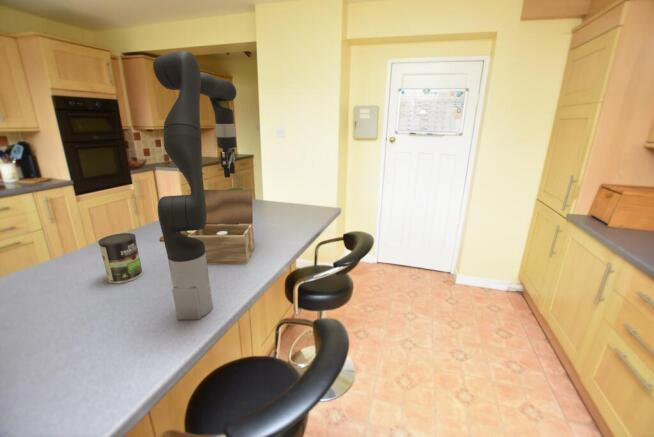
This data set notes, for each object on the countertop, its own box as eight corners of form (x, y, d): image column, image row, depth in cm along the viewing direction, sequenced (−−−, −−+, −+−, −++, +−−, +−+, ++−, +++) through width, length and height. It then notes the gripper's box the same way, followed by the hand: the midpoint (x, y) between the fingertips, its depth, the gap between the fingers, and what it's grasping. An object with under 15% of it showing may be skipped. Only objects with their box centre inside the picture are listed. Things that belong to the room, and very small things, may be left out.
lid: (251, 189, 122) (252, 189, 124) (199, 189, 122) (201, 189, 123) (252, 223, 123) (253, 223, 124) (200, 224, 122) (201, 223, 124)
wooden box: (246, 263, 114) (244, 236, 110) (190, 263, 114) (186, 236, 110) (254, 249, 127) (252, 224, 123) (204, 249, 126) (200, 224, 123)
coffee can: (149, 270, 108) (142, 233, 104) (126, 285, 99) (117, 245, 94) (125, 267, 110) (117, 231, 106) (99, 282, 101) (89, 242, 96)
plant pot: (241, 203, 197) (239, 186, 194) (249, 207, 189) (248, 189, 185) (223, 206, 190) (221, 188, 187) (231, 210, 181) (229, 192, 178)
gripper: (231, 137, 116) (235, 178, 121) (239, 134, 129) (242, 172, 134) (211, 136, 115) (216, 178, 121) (221, 134, 129) (225, 172, 134)
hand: (230, 175), depth 127 cm, fingers open, 8 cm apart
